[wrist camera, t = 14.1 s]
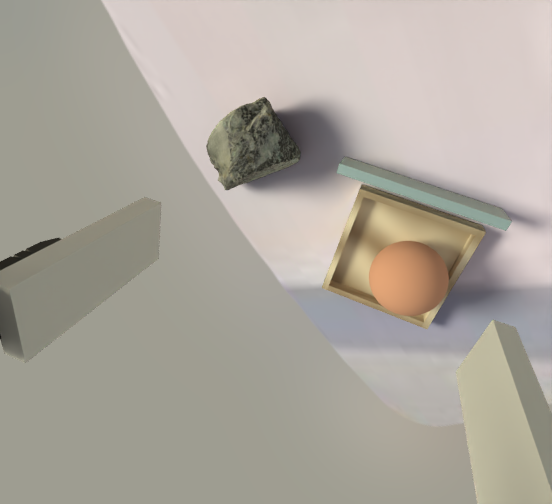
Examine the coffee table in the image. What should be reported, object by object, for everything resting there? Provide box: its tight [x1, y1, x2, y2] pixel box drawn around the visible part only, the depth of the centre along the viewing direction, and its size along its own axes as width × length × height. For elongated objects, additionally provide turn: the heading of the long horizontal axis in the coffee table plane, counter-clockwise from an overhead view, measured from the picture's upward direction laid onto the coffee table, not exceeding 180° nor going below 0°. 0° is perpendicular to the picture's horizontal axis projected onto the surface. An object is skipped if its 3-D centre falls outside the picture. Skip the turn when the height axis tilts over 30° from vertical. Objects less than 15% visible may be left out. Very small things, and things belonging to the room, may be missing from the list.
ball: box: [369, 241, 449, 316], centre depth 38 cm, size 8×8×8 cm
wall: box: [337, 157, 512, 231], centre depth 37 cm, size 1×17×4 cm, turn 76°
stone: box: [206, 97, 301, 190], centre depth 39 cm, size 10×10×10 cm
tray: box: [322, 185, 486, 329], centre depth 42 cm, size 13×13×2 cm
